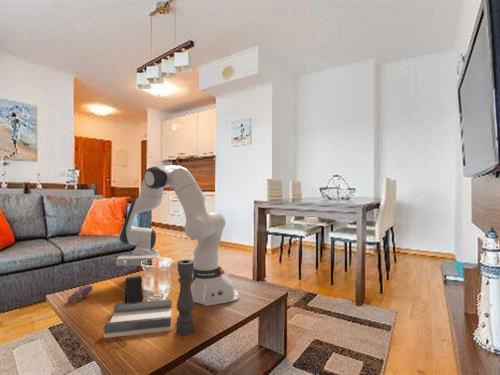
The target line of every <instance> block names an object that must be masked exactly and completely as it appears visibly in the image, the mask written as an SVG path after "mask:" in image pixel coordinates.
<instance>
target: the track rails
mask: <svg viewBox="0 0 500 375" xmlns="http://www.w3.org/2000/svg"><path fill="white" fill-rule="evenodd" d="M172 304H173V302H172V298H171V299H159V300H158V299H157V300H147V301H146V300H145V301H143V302H133V303H124V302H122V303H121V302H120V303H115V304H114V305H113V314H114V313H121V312H132V311H143V310H154V309H164V308H172ZM172 309H173V308H172ZM103 326H104V327H103V328H104V330H103V332H104V333H103V335H104V334H105V333H115V332H124V331H133V330H143V329H152V328H161V327H170V326H171V327H172V315H171V316H169V317H159V318H149V319H139V320H129V321H119V322H110V321H109V322H105V323H104V325H103Z"/></svg>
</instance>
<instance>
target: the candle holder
mask: <svg viewBox="0 0 500 375" xmlns="http://www.w3.org/2000/svg"><path fill="white" fill-rule="evenodd" d="M193 260H194V259H193ZM193 260H192V259H181V260H178V261H177V273H178V275H179V277H178V282H179V294H178V297H177V302H176V310H177V311H178V314H179V315H178V316H177V318H176V325H175V328H176V330H175V333H176V334H177V335H178V336H181V337H185V336H189V335H192V334H193V333H194V331H195V324H194V323H195V321H194V316H193V314H192V312H193V309H194V307H195V302H194V301H193V297H192V293H191V291H192V283H193V278H192V277H191V276H192V274H193V271H194V261H193Z"/></svg>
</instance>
